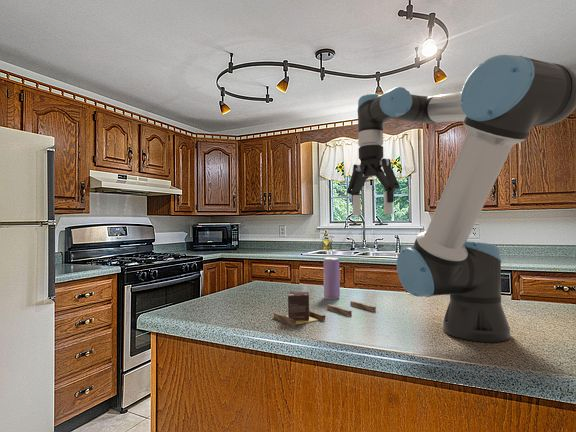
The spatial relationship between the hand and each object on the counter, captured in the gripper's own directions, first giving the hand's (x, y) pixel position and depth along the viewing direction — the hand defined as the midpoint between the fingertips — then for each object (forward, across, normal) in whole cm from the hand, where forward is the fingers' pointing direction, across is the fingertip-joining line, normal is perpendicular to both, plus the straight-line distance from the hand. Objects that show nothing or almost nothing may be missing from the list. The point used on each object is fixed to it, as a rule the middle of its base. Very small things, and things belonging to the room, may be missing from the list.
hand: (371, 214), depth 114 cm
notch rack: (+31, +8, +12) cm, 34 cm away
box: (+31, +8, +22) cm, 38 cm away
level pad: (+31, +8, +22) cm, 39 cm away
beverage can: (+31, +27, -5) cm, 41 cm away
